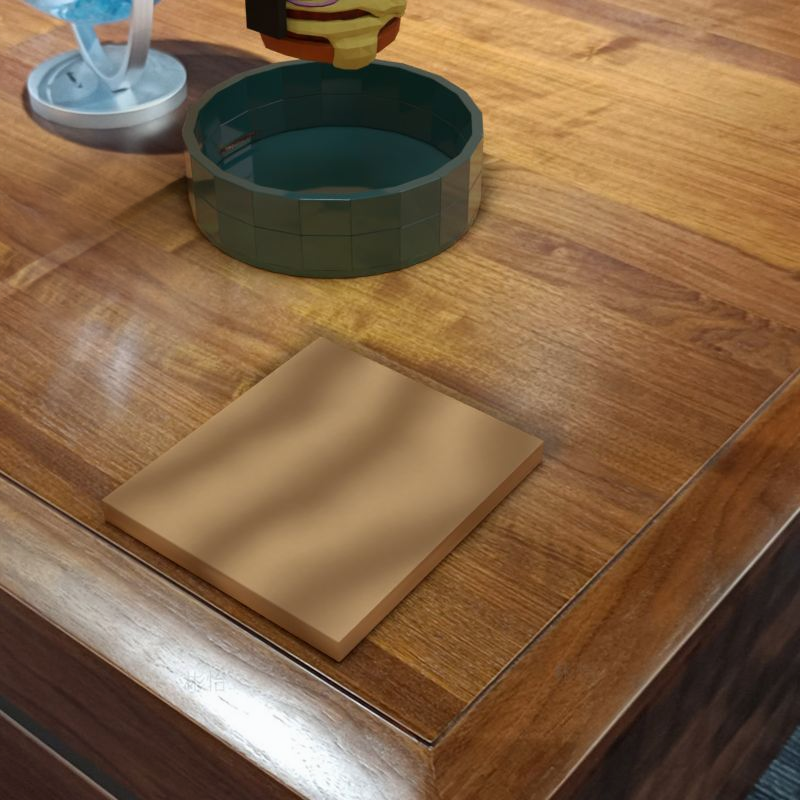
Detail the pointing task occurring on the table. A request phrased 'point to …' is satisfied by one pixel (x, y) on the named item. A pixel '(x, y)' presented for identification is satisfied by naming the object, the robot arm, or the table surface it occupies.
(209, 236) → the bowl
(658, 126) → the table surface
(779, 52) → the table surface
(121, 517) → the board
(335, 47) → the cheeseburger
